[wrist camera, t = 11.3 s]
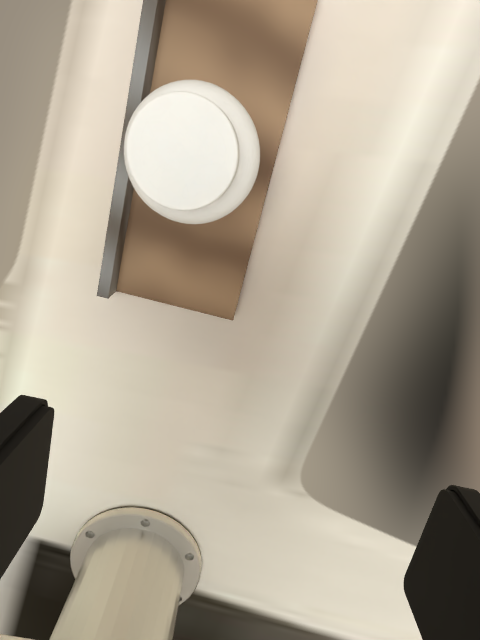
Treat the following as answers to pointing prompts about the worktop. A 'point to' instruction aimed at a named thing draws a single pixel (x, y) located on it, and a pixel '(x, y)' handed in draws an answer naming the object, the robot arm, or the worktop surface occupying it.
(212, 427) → the worktop surface
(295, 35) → the shelf
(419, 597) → the robot arm
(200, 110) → the supplement bottle
